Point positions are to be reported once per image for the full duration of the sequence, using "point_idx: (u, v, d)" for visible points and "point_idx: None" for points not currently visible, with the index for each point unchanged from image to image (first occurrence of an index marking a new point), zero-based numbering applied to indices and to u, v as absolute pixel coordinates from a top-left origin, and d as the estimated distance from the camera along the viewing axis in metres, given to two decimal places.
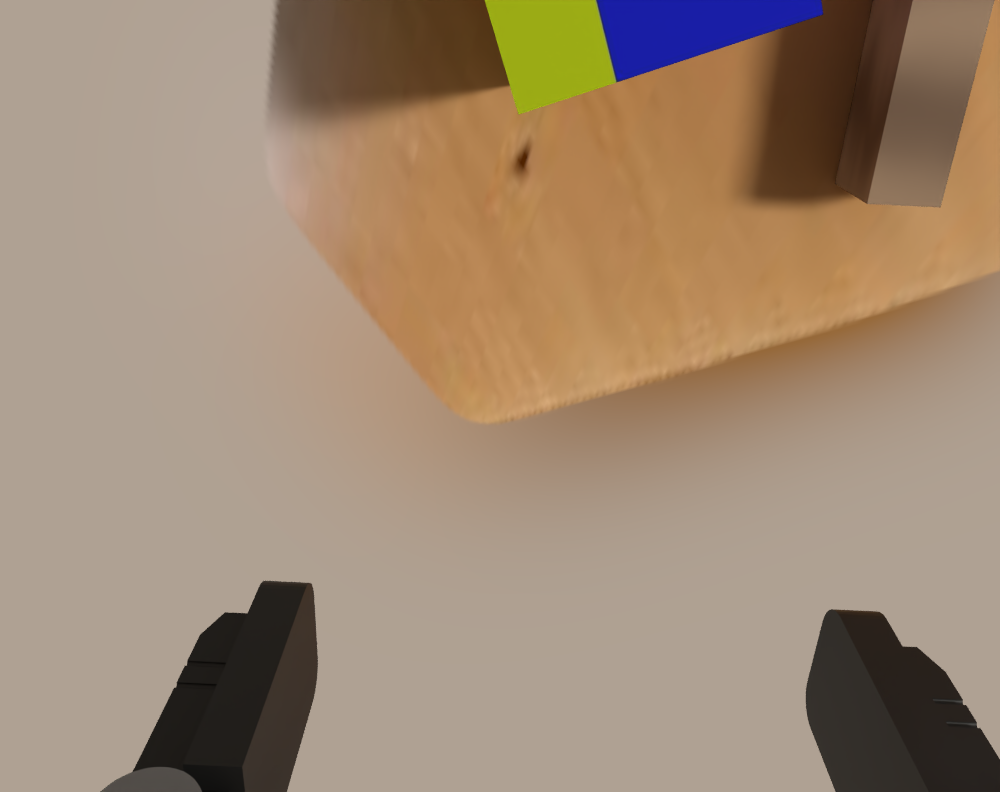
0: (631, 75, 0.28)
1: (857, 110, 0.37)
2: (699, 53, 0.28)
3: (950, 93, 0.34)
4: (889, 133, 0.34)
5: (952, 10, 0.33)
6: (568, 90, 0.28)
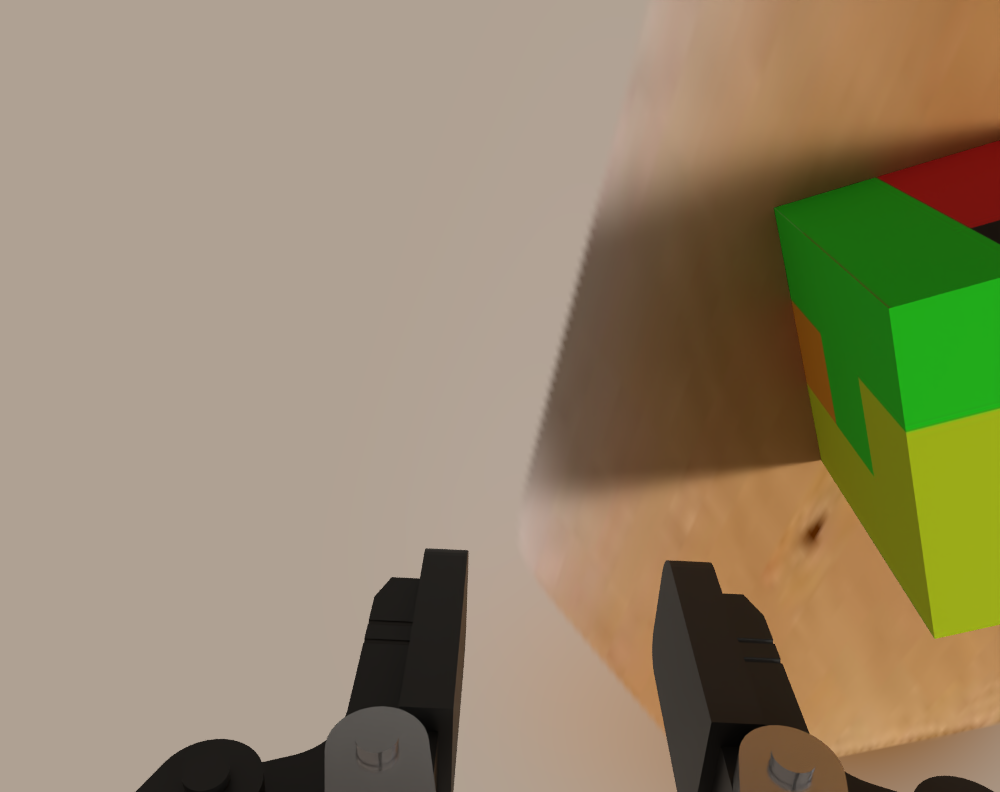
0: None
1: None
2: None
3: None
4: None
5: None
6: None
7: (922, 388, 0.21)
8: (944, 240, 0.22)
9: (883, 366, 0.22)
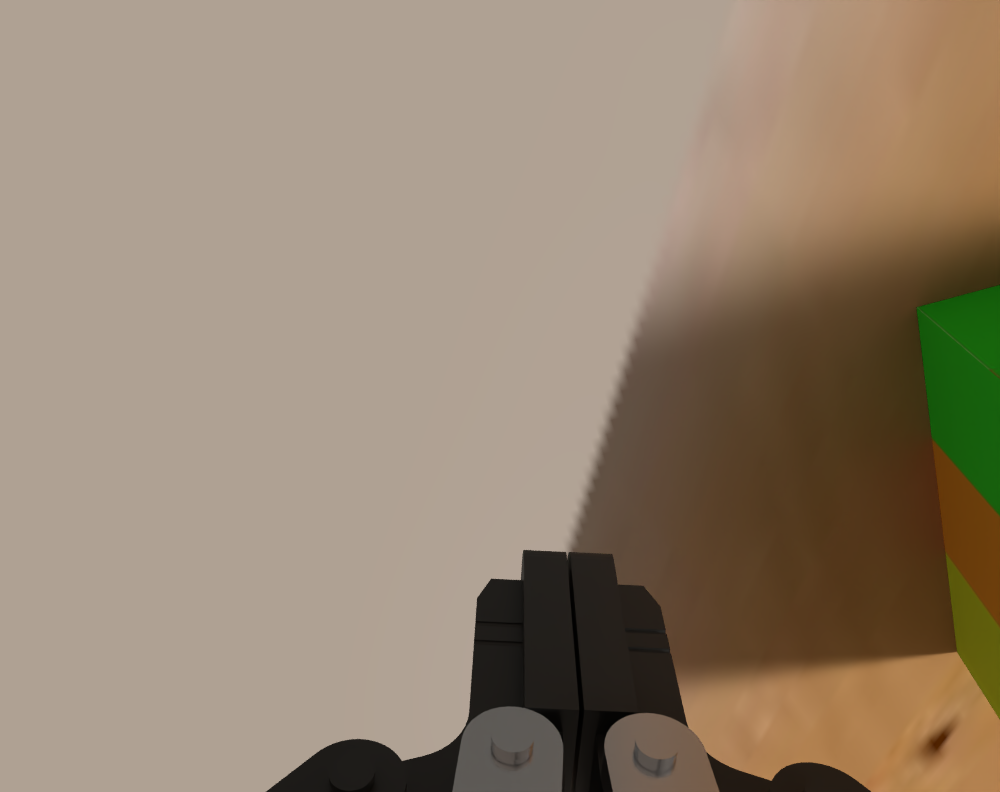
0: None
1: None
2: None
3: None
4: None
5: None
6: None
7: None
8: None
9: None
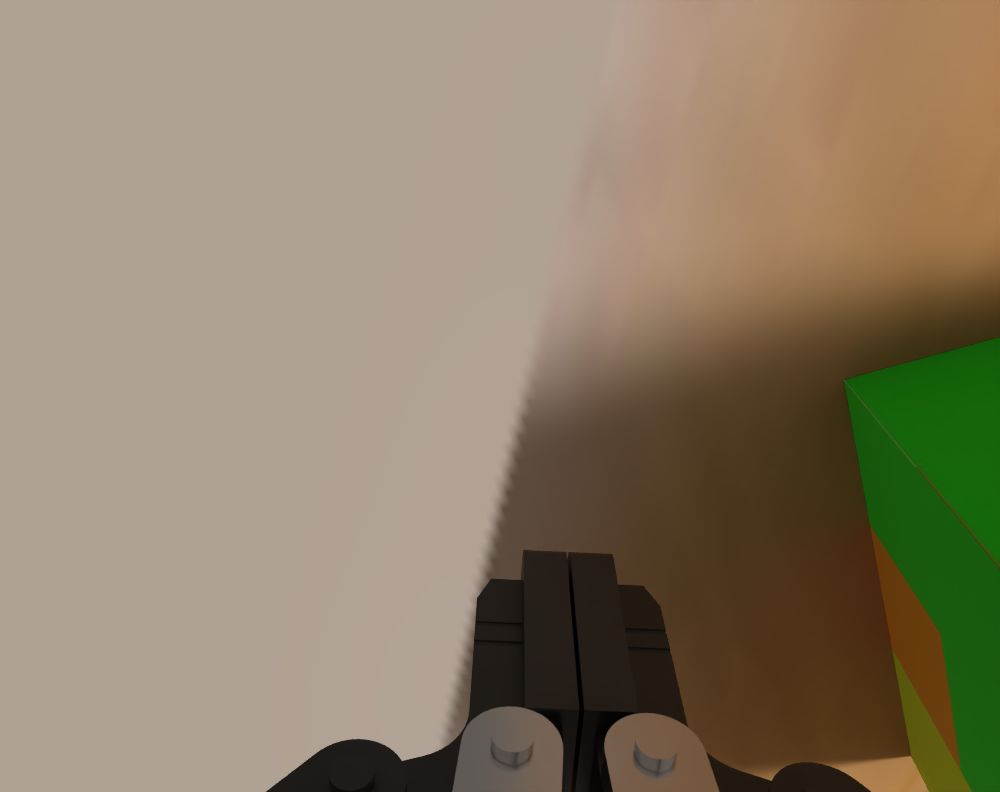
0: None
1: None
2: None
3: None
4: None
5: None
6: None
7: None
8: None
9: None
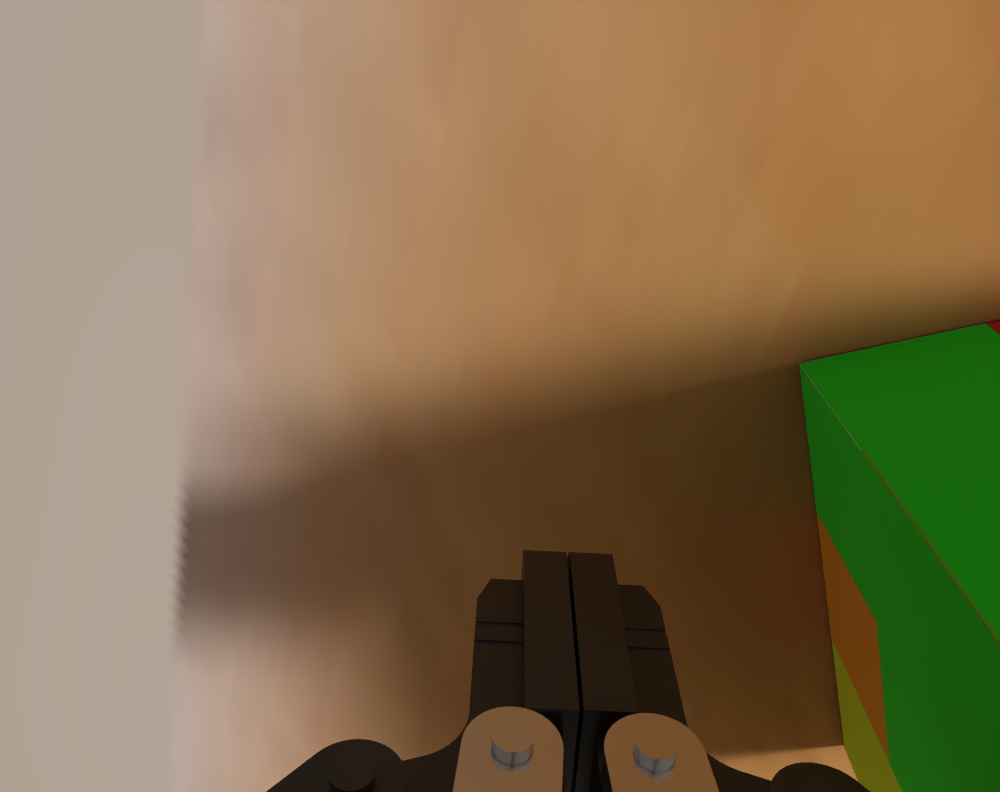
0: None
1: None
2: None
3: None
4: None
5: None
6: None
7: None
8: None
9: None
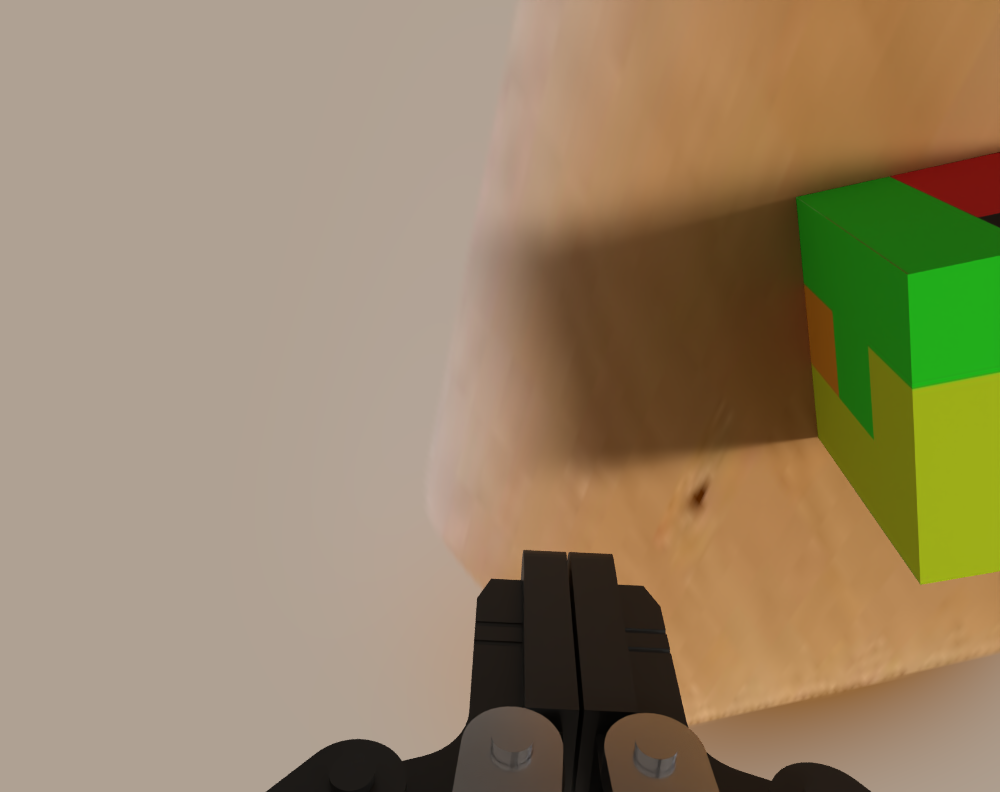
0: None
1: None
2: None
3: None
4: None
5: None
6: (980, 568, 0.26)
7: (929, 349, 0.23)
8: (955, 226, 0.25)
9: (895, 330, 0.24)
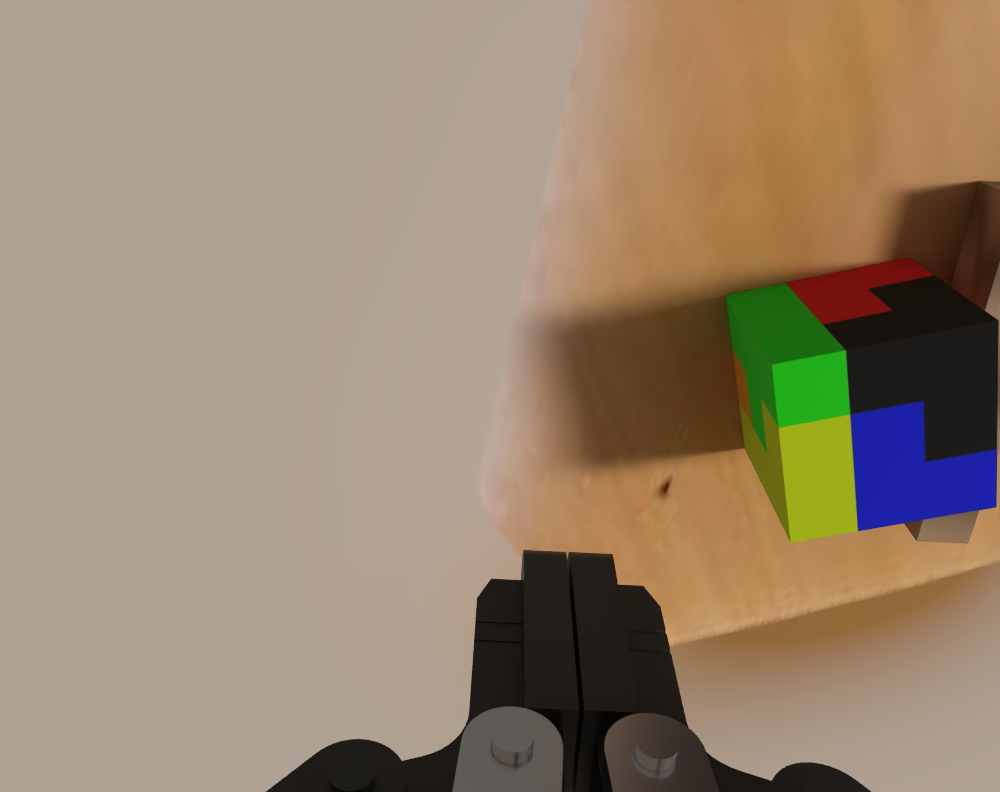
0: (868, 528, 0.44)
1: None
2: (914, 520, 0.43)
3: None
4: None
5: None
6: (826, 532, 0.44)
7: (787, 405, 0.41)
8: (808, 330, 0.42)
9: (770, 393, 0.42)
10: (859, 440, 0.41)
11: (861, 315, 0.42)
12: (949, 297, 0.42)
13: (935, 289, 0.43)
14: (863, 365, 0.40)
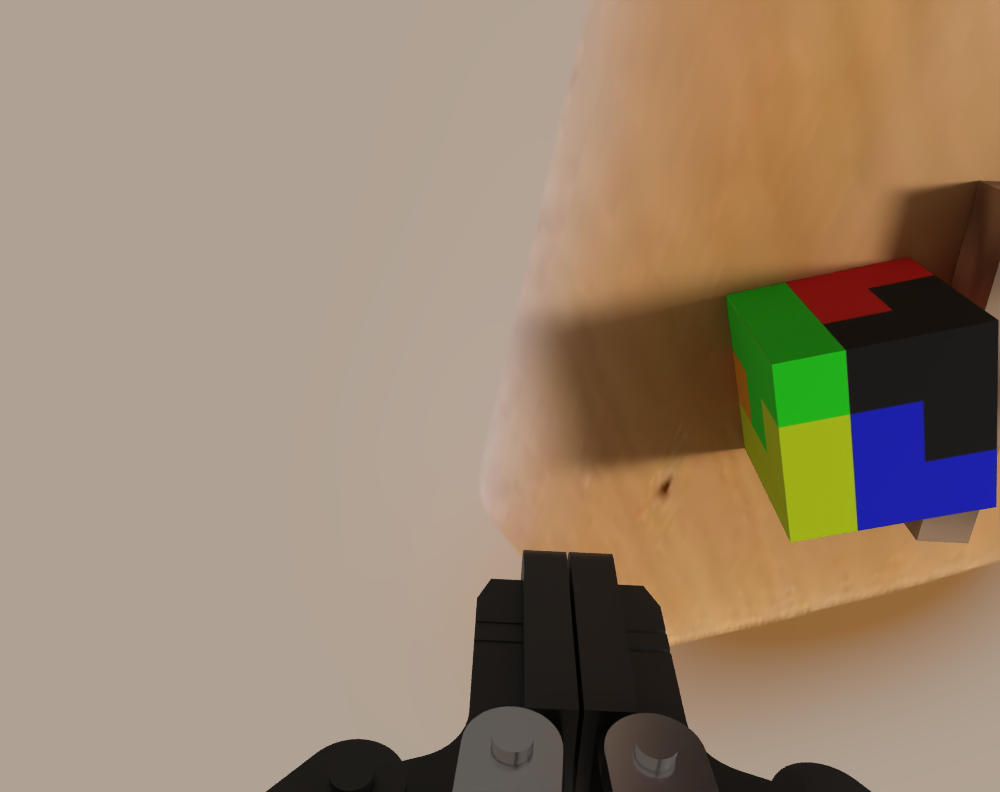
0: (868, 528, 0.44)
1: None
2: (914, 520, 0.43)
3: None
4: None
5: None
6: (826, 532, 0.44)
7: (787, 405, 0.41)
8: (808, 329, 0.42)
9: (770, 393, 0.42)
10: (859, 440, 0.42)
11: (860, 315, 0.42)
12: (949, 297, 0.42)
13: (935, 288, 0.43)
14: (863, 365, 0.40)
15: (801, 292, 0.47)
